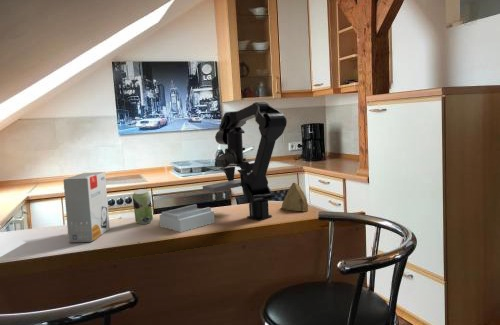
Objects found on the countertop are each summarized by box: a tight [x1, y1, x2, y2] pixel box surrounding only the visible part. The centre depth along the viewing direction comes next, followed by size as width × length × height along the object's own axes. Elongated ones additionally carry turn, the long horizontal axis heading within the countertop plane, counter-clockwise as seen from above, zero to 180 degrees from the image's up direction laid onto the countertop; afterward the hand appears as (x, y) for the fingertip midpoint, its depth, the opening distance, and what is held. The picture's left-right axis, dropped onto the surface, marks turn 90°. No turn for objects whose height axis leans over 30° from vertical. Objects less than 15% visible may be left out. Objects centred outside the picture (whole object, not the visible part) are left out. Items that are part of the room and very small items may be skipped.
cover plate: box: [202, 179, 242, 193], centre depth 154 cm, size 6×16×2 cm, turn 134°
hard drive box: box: [63, 171, 111, 243], centre depth 134 cm, size 16×8×20 cm, turn 179°
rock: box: [280, 182, 309, 212], centre depth 156 cm, size 11×9×10 cm
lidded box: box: [159, 203, 215, 233], centre depth 142 cm, size 12×14×5 cm
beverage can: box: [132, 188, 154, 225], centre depth 147 cm, size 6×7×12 cm
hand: (237, 186), depth 158 cm, fingers closed on cover plate, 6 cm apart
